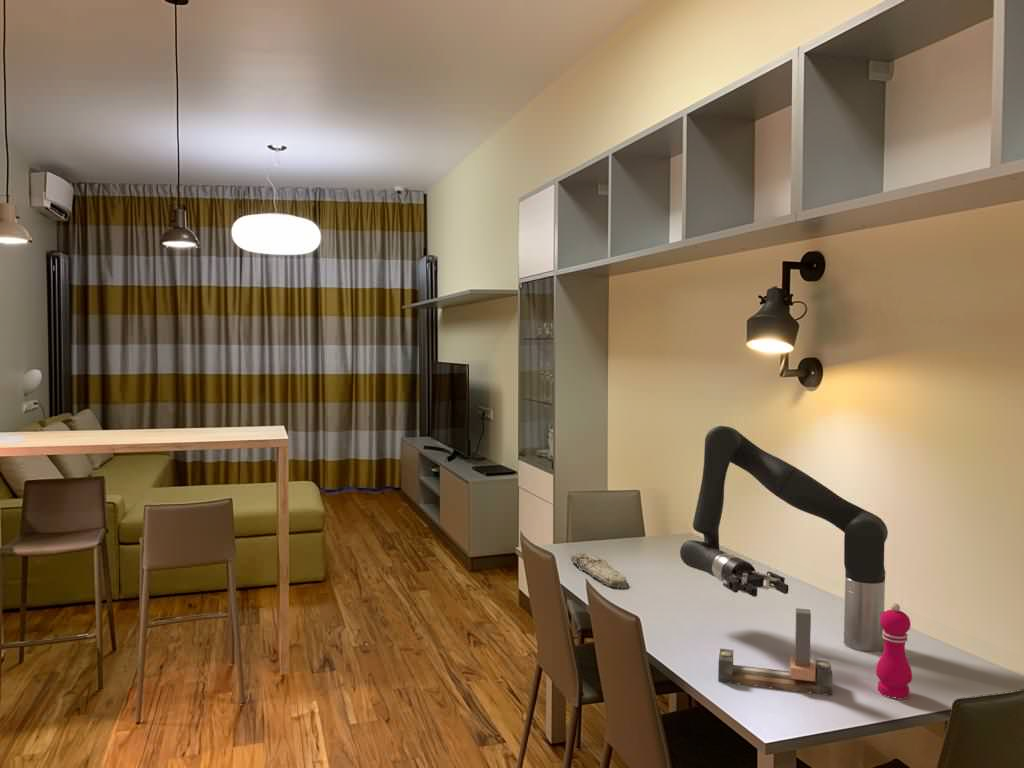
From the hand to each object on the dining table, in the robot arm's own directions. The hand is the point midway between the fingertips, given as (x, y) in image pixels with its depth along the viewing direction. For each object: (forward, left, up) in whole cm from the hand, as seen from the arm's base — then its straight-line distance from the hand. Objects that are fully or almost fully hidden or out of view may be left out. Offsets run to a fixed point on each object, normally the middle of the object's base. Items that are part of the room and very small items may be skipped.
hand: (771, 591), depth 188 cm
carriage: (-7, +9, -15) cm, 19 cm away
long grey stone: (+54, -62, -19) cm, 85 cm away
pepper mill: (-26, +7, -18) cm, 32 cm away
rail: (-1, +9, -18) cm, 20 cm away
